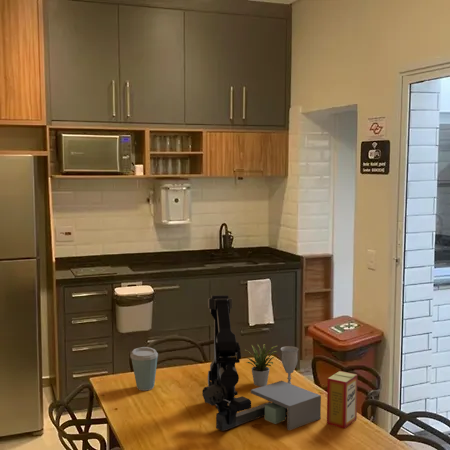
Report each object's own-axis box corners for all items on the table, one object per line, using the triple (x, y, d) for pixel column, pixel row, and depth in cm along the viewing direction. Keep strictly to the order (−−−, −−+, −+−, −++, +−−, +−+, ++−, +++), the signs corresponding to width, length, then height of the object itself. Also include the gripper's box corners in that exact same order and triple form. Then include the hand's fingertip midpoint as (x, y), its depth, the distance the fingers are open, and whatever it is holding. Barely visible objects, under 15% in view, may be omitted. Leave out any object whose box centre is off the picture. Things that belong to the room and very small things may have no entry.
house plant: (287, 382, 247) (288, 342, 245) (271, 393, 235) (271, 351, 234) (256, 376, 254) (257, 337, 253) (239, 385, 243) (239, 345, 241)
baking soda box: (344, 428, 203) (345, 381, 202) (326, 423, 207) (327, 377, 206) (356, 419, 211) (357, 373, 210) (339, 414, 215) (339, 369, 213)
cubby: (250, 412, 216) (250, 389, 216) (281, 402, 226) (281, 380, 225) (289, 430, 202) (289, 406, 201) (320, 418, 211) (320, 395, 210)
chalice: (297, 399, 228) (297, 352, 227) (278, 398, 230) (279, 351, 228) (298, 392, 236) (299, 346, 234) (281, 391, 237) (281, 345, 235)
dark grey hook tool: (216, 428, 202) (216, 413, 201) (268, 410, 219) (269, 396, 218) (234, 436, 195) (234, 421, 195) (287, 417, 212) (287, 402, 212)
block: (264, 419, 210) (264, 405, 210) (274, 415, 214) (274, 401, 213) (275, 424, 207) (275, 409, 206) (285, 420, 210) (285, 405, 210)
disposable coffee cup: (163, 389, 239) (163, 351, 237) (138, 395, 233) (137, 356, 231) (150, 381, 248) (150, 344, 246) (126, 386, 242) (125, 349, 240)
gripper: (189, 374, 203) (189, 420, 205) (225, 390, 189) (225, 439, 190) (215, 367, 210) (215, 411, 212) (252, 382, 196) (252, 429, 197)
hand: (226, 422), depth 203 cm, fingers closed on dark grey hook tool, 3 cm apart
